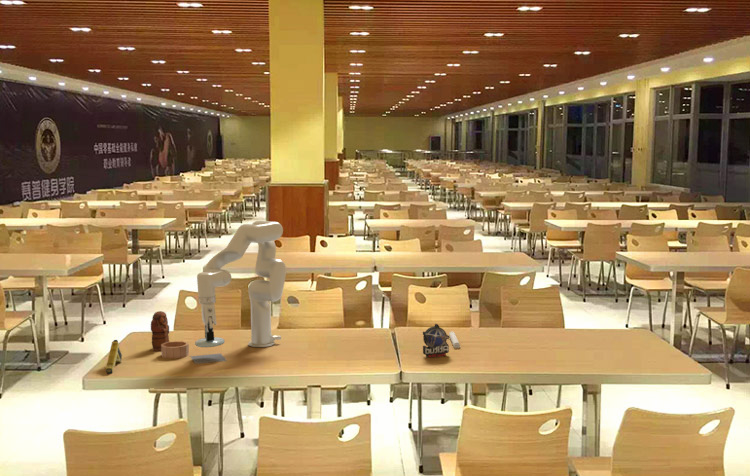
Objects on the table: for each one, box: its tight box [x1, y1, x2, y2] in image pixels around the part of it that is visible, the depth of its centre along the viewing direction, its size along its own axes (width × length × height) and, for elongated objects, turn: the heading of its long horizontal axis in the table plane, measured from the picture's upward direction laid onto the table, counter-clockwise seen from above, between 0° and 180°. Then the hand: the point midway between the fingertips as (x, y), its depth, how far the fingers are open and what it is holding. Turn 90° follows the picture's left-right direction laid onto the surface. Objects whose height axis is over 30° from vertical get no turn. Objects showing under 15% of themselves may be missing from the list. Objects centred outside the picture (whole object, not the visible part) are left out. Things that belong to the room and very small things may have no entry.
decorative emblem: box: [422, 323, 450, 359], centre depth 377 cm, size 12×2×15 cm, turn 108°
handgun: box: [105, 339, 123, 374], centre depth 362 cm, size 2×19×12 cm
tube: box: [448, 331, 461, 349], centre depth 405 cm, size 3×3×25 cm
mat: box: [189, 353, 228, 365], centre depth 375 cm, size 14×14×1 cm
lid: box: [194, 327, 225, 348], centre depth 374 cm, size 13×13×7 cm
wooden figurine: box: [150, 310, 170, 352], centre depth 394 cm, size 12×6×18 cm, turn 175°
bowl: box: [160, 340, 190, 360], centre depth 381 cm, size 12×12×6 cm
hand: (209, 339), depth 375 cm, fingers closed on lid, 3 cm apart
